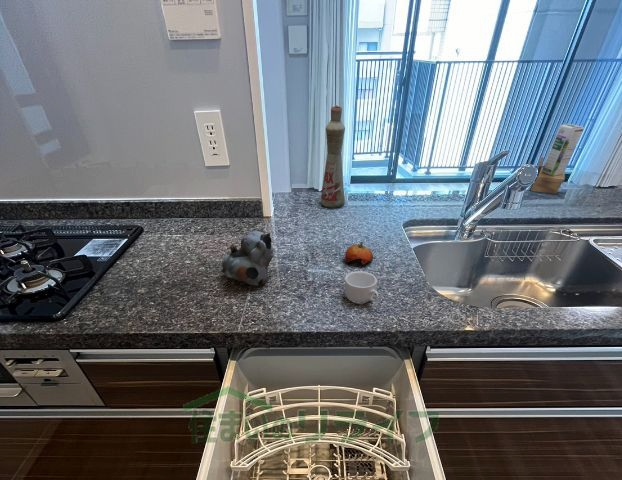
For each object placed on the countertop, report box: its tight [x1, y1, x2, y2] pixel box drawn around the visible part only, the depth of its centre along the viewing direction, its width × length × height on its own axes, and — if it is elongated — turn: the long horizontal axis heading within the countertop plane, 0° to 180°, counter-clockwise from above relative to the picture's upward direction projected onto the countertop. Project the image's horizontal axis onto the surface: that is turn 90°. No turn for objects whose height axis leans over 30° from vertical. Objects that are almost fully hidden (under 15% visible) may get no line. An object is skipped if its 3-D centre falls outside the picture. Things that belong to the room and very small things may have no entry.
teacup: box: [344, 270, 380, 305], centre depth 89 cm, size 10×8×5 cm
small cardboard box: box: [530, 157, 566, 195], centre depth 140 cm, size 10×12×8 cm
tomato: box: [344, 241, 374, 266], centre depth 103 cm, size 8×7×7 cm
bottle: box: [320, 104, 346, 209], centre depth 122 cm, size 9×9×28 cm
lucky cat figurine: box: [220, 230, 275, 287], centre depth 95 cm, size 15×12×14 cm
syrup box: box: [542, 123, 585, 176], centre depth 133 cm, size 6×6×14 cm
